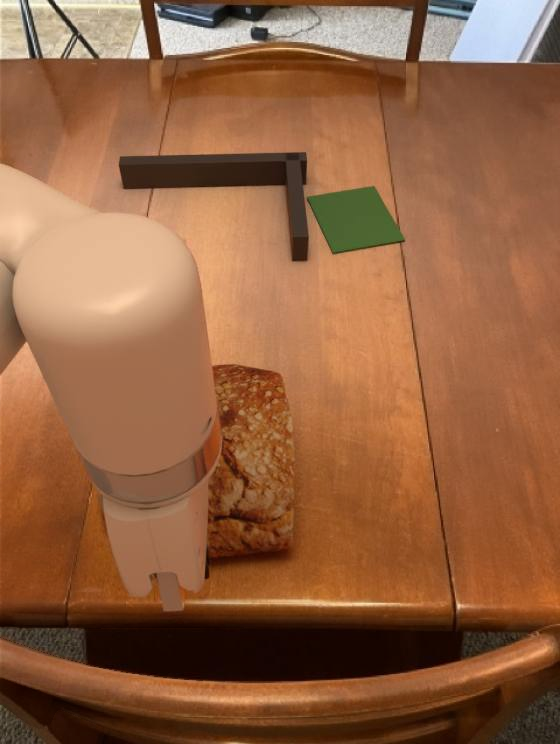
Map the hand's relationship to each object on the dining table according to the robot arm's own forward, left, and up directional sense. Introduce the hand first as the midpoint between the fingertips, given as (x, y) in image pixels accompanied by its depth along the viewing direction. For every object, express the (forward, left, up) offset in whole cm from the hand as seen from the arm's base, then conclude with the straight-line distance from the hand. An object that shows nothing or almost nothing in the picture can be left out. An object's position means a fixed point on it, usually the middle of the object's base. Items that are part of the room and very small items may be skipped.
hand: (188, 569), depth 50 cm
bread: (0, +15, -11) cm, 19 cm away
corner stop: (+1, +54, -11) cm, 55 cm away
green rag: (+20, +53, -11) cm, 58 cm away
